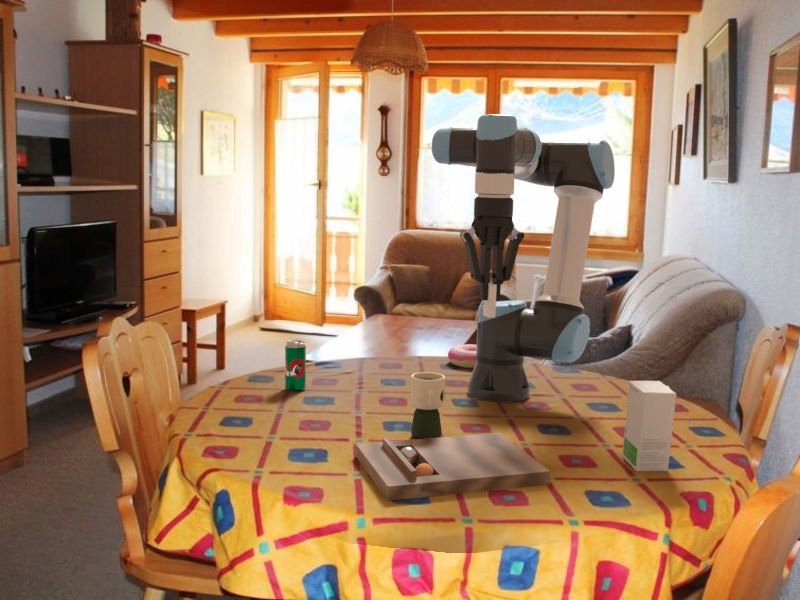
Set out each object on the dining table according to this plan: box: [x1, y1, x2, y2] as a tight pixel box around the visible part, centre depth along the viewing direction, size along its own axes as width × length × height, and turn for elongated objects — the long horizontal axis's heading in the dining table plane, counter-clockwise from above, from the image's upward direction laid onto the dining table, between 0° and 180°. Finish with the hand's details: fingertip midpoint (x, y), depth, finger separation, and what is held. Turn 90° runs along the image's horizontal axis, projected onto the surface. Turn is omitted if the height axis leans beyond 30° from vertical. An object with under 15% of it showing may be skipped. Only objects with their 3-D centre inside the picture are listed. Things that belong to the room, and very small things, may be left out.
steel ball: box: [400, 447, 417, 466], centre depth 157 cm, size 3×3×3 cm
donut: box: [447, 343, 477, 369], centre depth 237 cm, size 14×13×5 cm
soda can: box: [284, 339, 307, 392], centre depth 206 cm, size 5×5×12 cm
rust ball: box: [415, 463, 434, 477], centre depth 148 cm, size 3×3×3 cm
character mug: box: [409, 371, 446, 439], centre depth 172 cm, size 11×7×13 cm, turn 7°
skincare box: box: [621, 380, 677, 472], centre depth 159 cm, size 8×7×16 cm
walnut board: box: [355, 432, 551, 501], centre depth 155 cm, size 30×22×4 cm
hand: (489, 316), depth 165 cm, fingers closed
